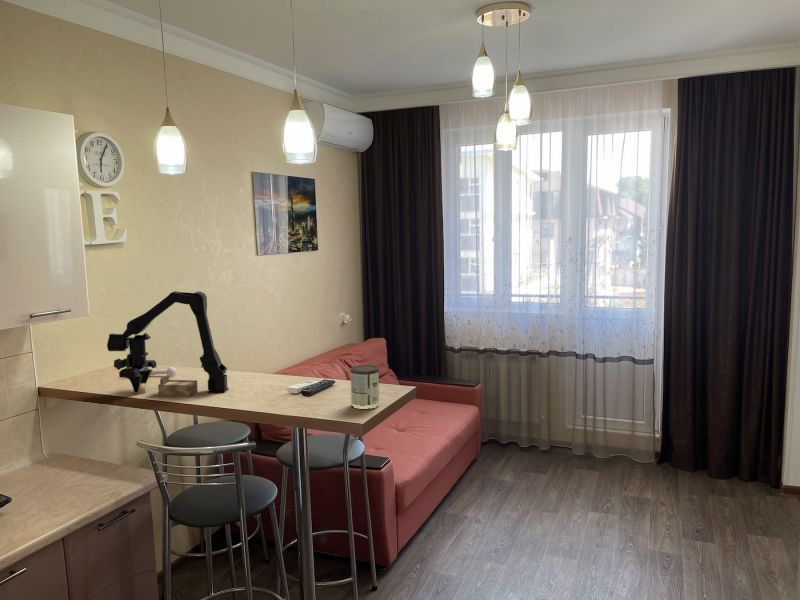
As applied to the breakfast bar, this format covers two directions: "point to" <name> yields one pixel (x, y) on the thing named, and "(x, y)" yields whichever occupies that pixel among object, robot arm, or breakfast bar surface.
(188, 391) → the box
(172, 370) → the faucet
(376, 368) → the coffee can
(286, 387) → the breakfast bar surface
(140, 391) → the tan wooden cube
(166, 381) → the lid
